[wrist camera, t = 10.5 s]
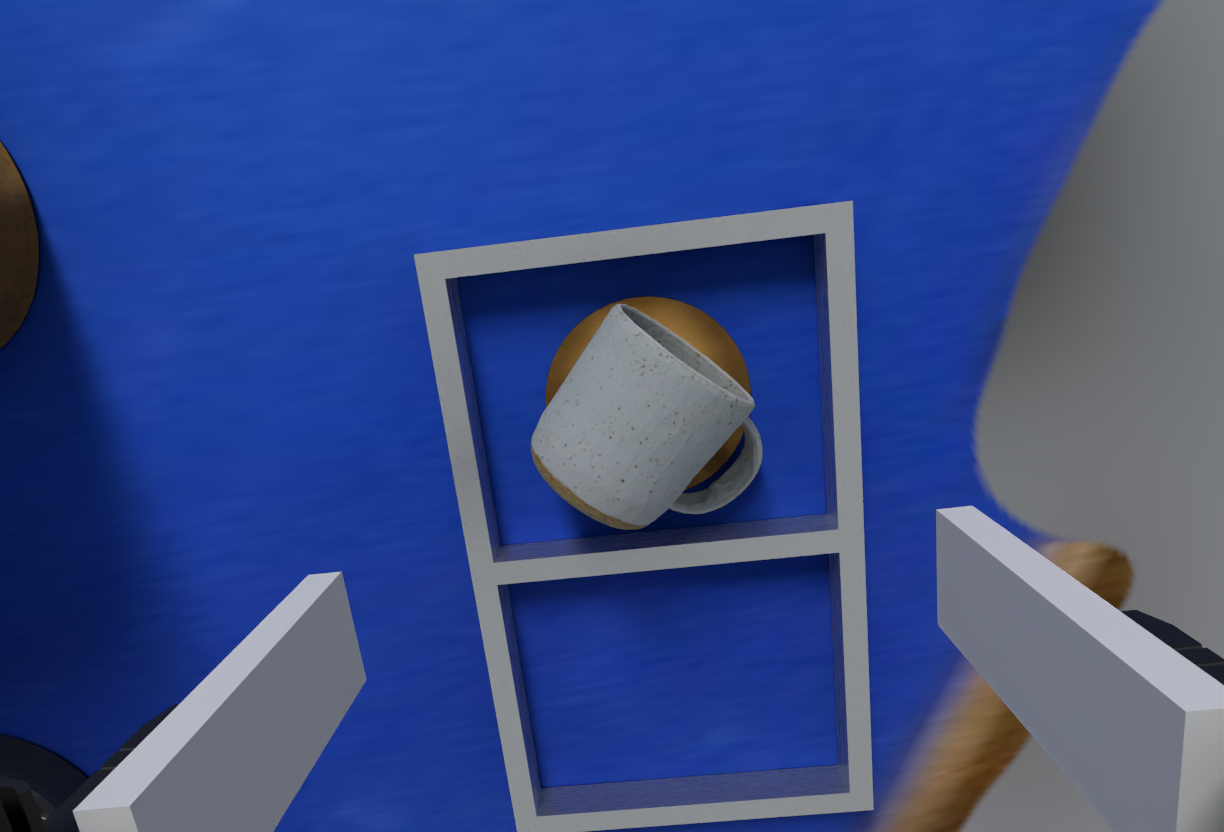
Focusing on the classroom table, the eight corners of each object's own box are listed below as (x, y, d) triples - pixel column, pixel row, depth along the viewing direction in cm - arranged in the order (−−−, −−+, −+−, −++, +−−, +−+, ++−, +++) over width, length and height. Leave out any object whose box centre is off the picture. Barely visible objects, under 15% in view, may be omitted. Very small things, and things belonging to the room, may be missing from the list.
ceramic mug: (529, 428, 33) (504, 477, 26) (618, 293, 32) (617, 307, 25) (697, 535, 35) (718, 610, 27) (791, 411, 33) (838, 457, 26)
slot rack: (523, 807, 39) (518, 836, 37) (427, 254, 32) (413, 254, 30) (861, 781, 38) (873, 809, 36) (838, 204, 31) (852, 200, 29)
